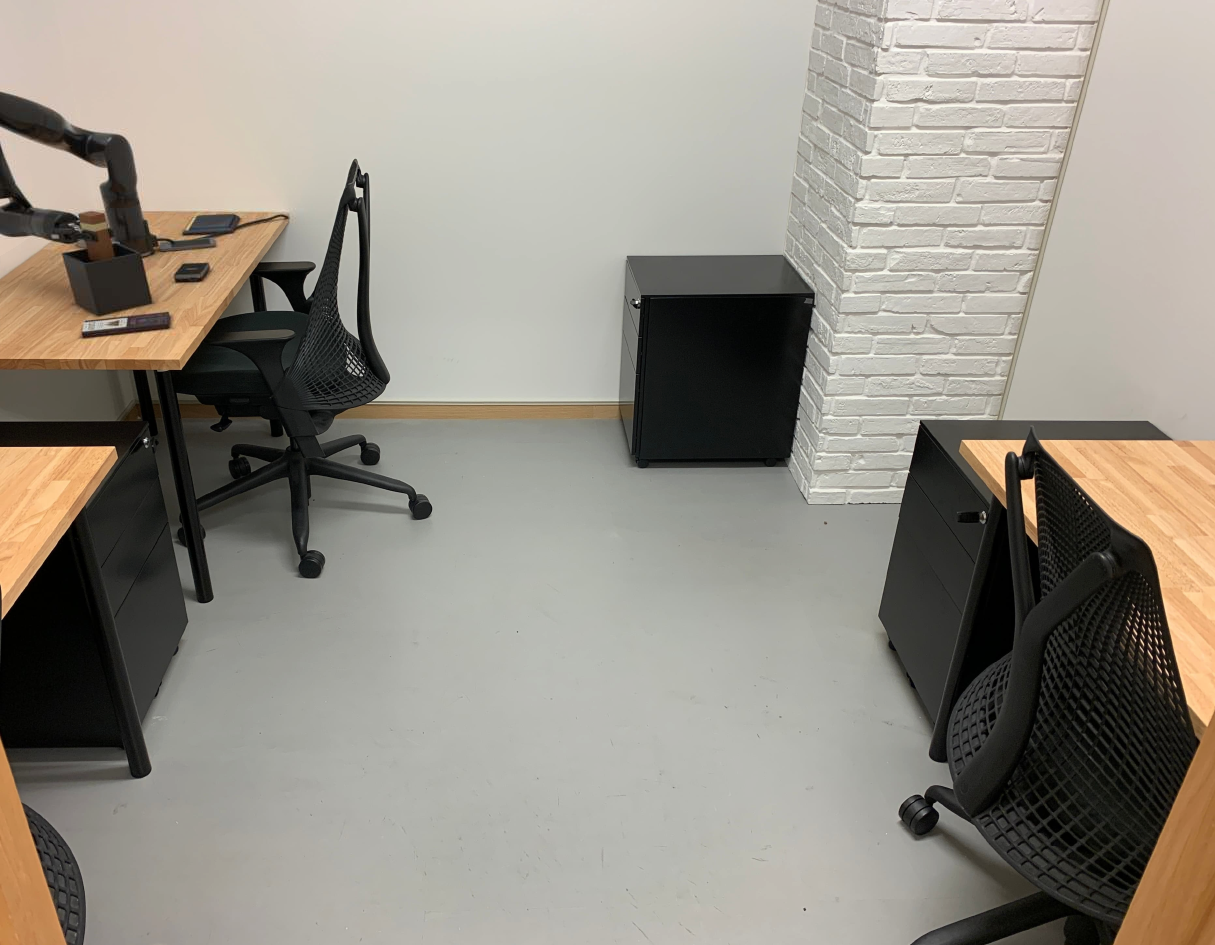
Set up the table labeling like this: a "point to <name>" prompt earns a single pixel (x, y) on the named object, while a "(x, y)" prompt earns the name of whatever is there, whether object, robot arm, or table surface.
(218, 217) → the dark blue book
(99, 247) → the chocolate box
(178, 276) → the external hard drive
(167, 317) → the chocolate bar
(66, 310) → the table surface
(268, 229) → the table surface
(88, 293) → the trash can
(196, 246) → the smartphone
